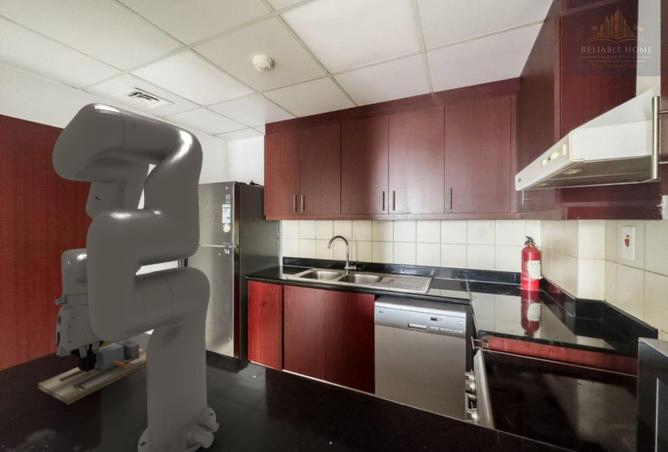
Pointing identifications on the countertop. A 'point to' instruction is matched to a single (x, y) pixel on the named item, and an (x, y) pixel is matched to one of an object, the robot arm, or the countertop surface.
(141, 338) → the countertop surface
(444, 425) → the countertop surface
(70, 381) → the gauge board
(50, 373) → the countertop surface
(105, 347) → the slider block with pointer
